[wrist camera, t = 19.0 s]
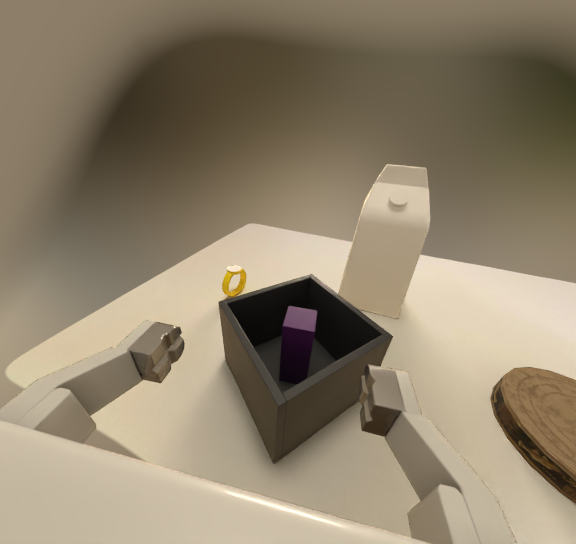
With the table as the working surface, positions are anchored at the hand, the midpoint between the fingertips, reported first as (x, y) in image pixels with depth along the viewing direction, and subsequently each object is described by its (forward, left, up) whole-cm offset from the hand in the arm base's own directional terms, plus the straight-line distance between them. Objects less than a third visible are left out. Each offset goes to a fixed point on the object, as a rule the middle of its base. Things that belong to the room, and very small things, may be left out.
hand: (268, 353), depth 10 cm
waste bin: (+9, +9, -21) cm, 24 cm away
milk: (+34, +17, -21) cm, 44 cm away
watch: (+9, +31, -21) cm, 39 cm away
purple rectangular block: (+9, +9, -20) cm, 24 cm away
